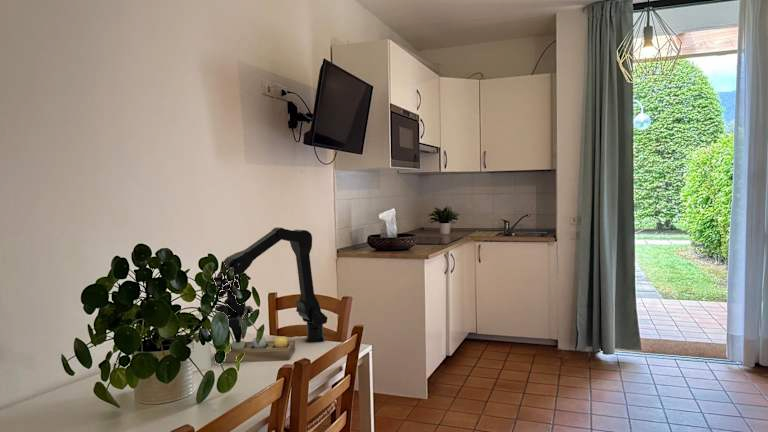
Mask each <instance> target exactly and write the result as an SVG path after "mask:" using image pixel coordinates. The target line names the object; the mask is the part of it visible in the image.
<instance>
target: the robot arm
mask: <svg viewBox="0 0 768 432" xmlns="http://www.w3.org/2000/svg"><path fill="white" fill-rule="evenodd" d="M280 241H286V242H289V244H290V246H291V247H290V248H291V249H292V251H293V253H294V254H295V259H296V267H297V276H298V284H299V293H300V296H299V299H298V300H295V305H296V310H295V312H297V314H298V315H299V316H300V318H302V321H303V322H305V323H306V335H307V336H306V338H305V340H304V342H305V343H306V342H307V343H310V342H313V343H315V342H324V341H325V338H326V335H324V324H327V322H328V316H327V315H325V314H324V312H322V309H321V306H320V303H319V300H318V298H317V297H316V295H315V291H314V282H313V275H312V266H311V257H310V253H311V251H312V247H313V235H312V233H311V232H310V231H308V230H306V229H294V230H290V229H286V228H284V227H277V226H276V227H273V228H272V229H271V231H269V232H268V233H267V234H265V235H264V236H262V237H261V238H259V239H258V240H257V241H255V242H254V243H252V244H250V246H247V248H245V249H243V250H239V251H238V252H235V253H233V254H231V255H229V256H226V258H225V259H224V260H223V263H225V265H226V270H228V269H229V268H230V267H233V268H234V275H235V279H236V280H237V279H238V276H239V274H240V273H243V274H244V275H245V276H246V277H247V278H248V280H247V281H250V280H251V279H252V277H250V276H249V275H247V273H246V272H245V271H247V269H248V268H249V267H250V266H251V265H252V263H253V262H254V261H255V260H256V259H257V258H258V257H260V256H261V255H262V254H264V253H265V252H267V251H268V250H269V249H271V248H272V247H273V246H275V245H276V244H278V243H279V242H280ZM221 275H222V272H221V269H220V270H219V272H218V274H217V275H216V276H213V277H214V280H215V282H216V284H217V286H218V287H220V286H221ZM240 275H241V274H240ZM226 283H228V281H227V279H226V278H225V277H224V279H223V285H225V284H226ZM234 286H235V287H236V288H239V285H238V282H237V281H235V282H234ZM229 288H230V284H229V285H227V286H225V287H223V290H225V289H229ZM201 295H203V292H202V291H201ZM225 295H226V299H225V300H224V302H223V303H226V304H228V305H229V306H230V307H231V308H232V309H233V310H235V311H236V312H235V311H233V310H232V309H231V308H229V307H227V306H224V305H221V304H218V305H217V306H216V310H217V311H221V312H224V313H225V314H226V315H227V316H228V319H229V327H228V328H230V329H231V331H232V335H233V337H234V341H236V343H239V342H240V341H242V338H243V335H242V336H241V325H242V318H243V317H244V316H245V315H246V314H245V313H251V312H253V313H254V308H253V307H252V306H251V305H246V302H245V303H244V304H241V305H239V304H237V302H236V299H235V296H234V295H233V294H232V292H231V291H230V290H225V291H221V292H220V294H219V298H223V297H224V296H225ZM225 314H224V315H225ZM244 314H245V315H244Z"/></svg>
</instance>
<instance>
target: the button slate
mask: <svg viewBox="0 0 768 432" xmlns="http://www.w3.org/2000/svg"><path fill="white" fill-rule="evenodd" d="M256 338H257V337H255V338H253V339H252V342H253V349H262V348H266V341H267V340H266V337H262V340H261V342H260V344H259V345H258V346H257V345H256Z"/></svg>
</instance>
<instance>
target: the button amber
mask: <svg viewBox="0 0 768 432" xmlns="http://www.w3.org/2000/svg"><path fill="white" fill-rule="evenodd" d="M287 340H288V337H287V336H285V335H284V336H277V337H274V341H275V348H287Z"/></svg>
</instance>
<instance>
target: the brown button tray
mask: <svg viewBox="0 0 768 432" xmlns="http://www.w3.org/2000/svg"><path fill="white" fill-rule="evenodd" d="M230 344H231V351H230V352H229V353H227V354H226V359H225V362H224V363H236V362H235V360H236V356H237V355H239V354H241V353H242V352H245V355H244V357H243V359H242V360H241V361H249V362H271V361H272V362H273V361H290V360H291V358H292V356H293V355H294V352H295V350H296V341H295V339H294V340H293V339H292V340H290V339H289V340H288V339H287V348H275V340H266V348H262V349H253V341H244V346H245V348H244V349H232V342H231V343H230Z"/></svg>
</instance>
